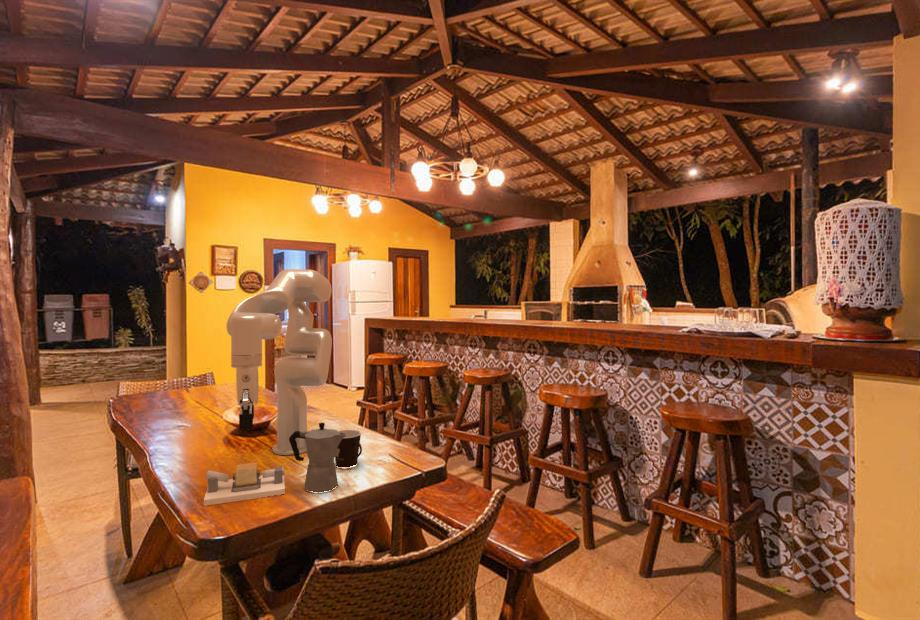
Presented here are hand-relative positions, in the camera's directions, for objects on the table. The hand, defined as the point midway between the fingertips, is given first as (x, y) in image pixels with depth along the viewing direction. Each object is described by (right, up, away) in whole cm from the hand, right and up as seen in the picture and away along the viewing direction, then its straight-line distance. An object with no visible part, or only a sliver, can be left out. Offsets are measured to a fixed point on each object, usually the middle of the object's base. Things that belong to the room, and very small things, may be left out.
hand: (246, 423), depth 124 cm
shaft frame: (0, -18, 0) cm, 18 cm away
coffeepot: (+18, -19, +4) cm, 26 cm away
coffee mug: (+23, -18, +19) cm, 34 cm away
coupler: (0, -17, 0) cm, 17 cm away
